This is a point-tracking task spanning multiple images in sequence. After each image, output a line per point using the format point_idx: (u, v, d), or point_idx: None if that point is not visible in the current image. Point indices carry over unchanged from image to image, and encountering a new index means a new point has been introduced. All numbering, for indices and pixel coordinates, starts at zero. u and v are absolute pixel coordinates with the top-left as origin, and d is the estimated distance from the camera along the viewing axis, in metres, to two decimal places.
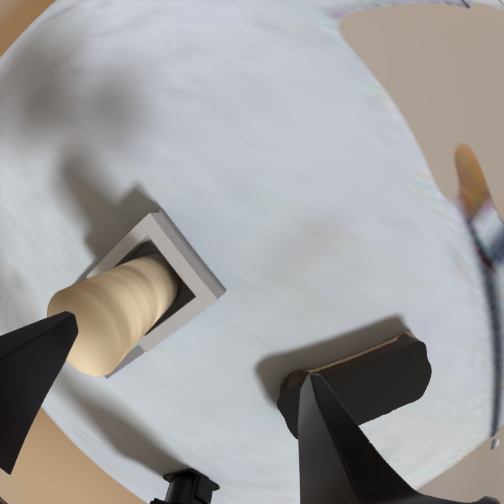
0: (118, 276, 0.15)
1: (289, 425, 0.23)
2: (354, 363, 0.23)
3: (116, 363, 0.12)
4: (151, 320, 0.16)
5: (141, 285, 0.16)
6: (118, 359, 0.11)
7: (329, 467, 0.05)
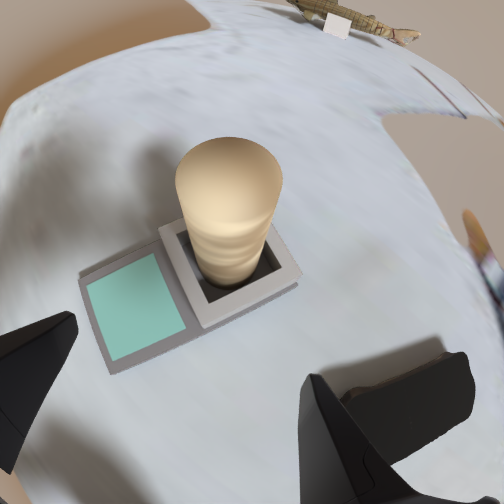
0: None
1: None
2: (412, 373, 0.20)
3: (268, 206, 0.12)
4: (264, 239, 0.16)
5: None
6: (273, 201, 0.12)
7: (329, 467, 0.05)
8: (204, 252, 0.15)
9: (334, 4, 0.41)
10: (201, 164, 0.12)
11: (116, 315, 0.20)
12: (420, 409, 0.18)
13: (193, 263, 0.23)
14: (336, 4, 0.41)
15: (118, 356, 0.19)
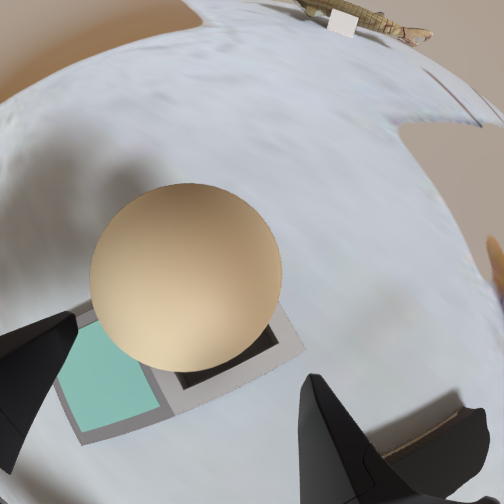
0: None
1: None
2: (425, 441, 0.14)
3: (253, 338, 0.06)
4: None
5: None
6: (263, 328, 0.06)
7: (329, 467, 0.05)
8: None
9: None
10: (132, 245, 0.07)
11: (80, 383, 0.15)
12: (430, 477, 0.12)
13: None
14: None
15: (87, 428, 0.13)
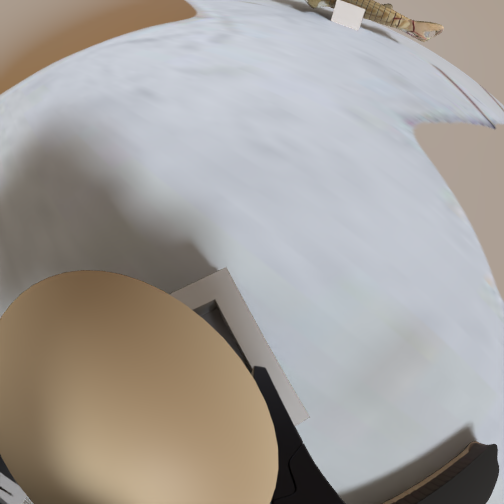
0: None
1: None
2: (433, 485, 0.10)
3: None
4: None
5: None
6: None
7: None
8: None
9: None
10: (21, 385, 0.02)
11: None
12: None
13: None
14: None
15: None
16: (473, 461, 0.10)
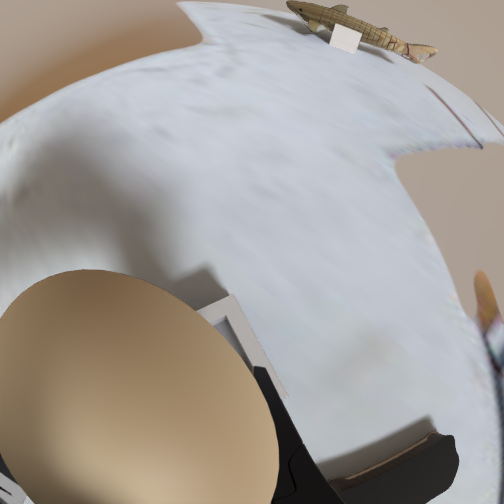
0: None
1: None
2: (393, 464, 0.16)
3: None
4: None
5: None
6: None
7: None
8: None
9: (342, 14, 0.37)
10: (21, 385, 0.02)
11: None
12: (397, 494, 0.14)
13: None
14: (345, 14, 0.37)
15: None
16: (429, 447, 0.16)
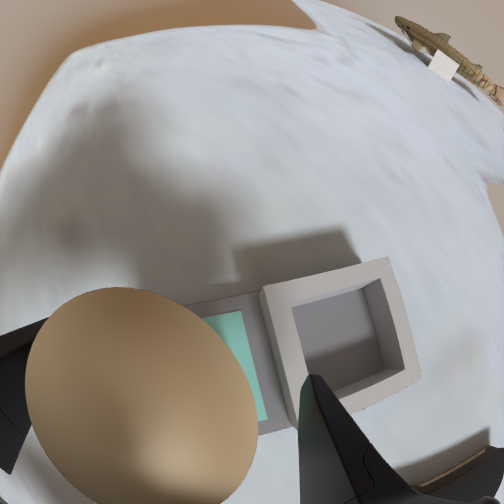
0: None
1: None
2: (461, 471, 0.11)
3: (219, 500, 0.03)
4: None
5: None
6: (232, 491, 0.03)
7: (329, 467, 0.05)
8: None
9: (445, 42, 0.33)
10: (62, 375, 0.04)
11: None
12: None
13: None
14: (446, 43, 0.32)
15: None
16: (490, 457, 0.11)
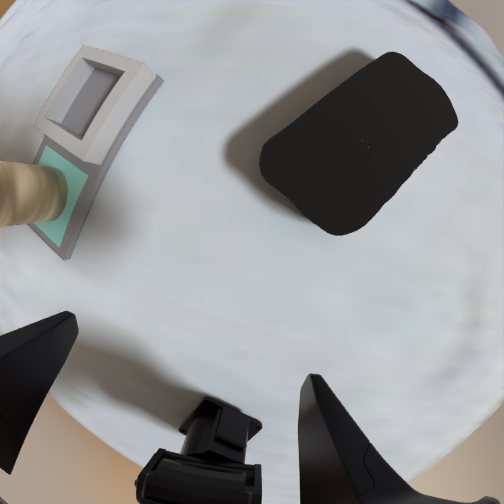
0: None
1: (302, 208, 0.16)
2: None
3: None
4: (6, 178, 0.12)
5: None
6: None
7: (329, 467, 0.05)
8: None
9: None
10: None
11: None
12: (371, 127, 0.16)
13: (73, 125, 0.18)
14: None
15: (60, 240, 0.20)
16: (369, 64, 0.15)
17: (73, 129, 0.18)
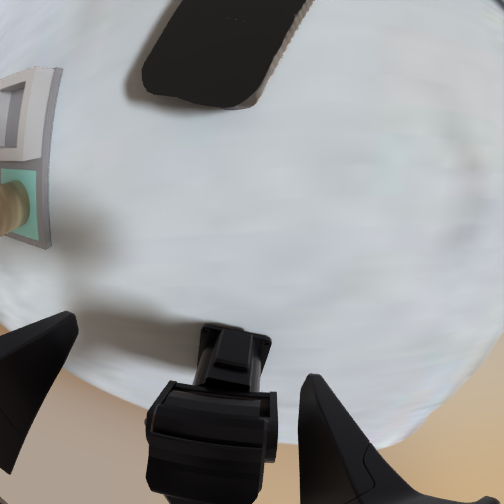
0: None
1: (192, 98, 0.14)
2: None
3: None
4: None
5: None
6: None
7: (329, 467, 0.05)
8: None
9: None
10: None
11: None
12: (233, 2, 0.11)
13: (13, 141, 0.17)
14: None
15: (36, 234, 0.21)
16: None
17: (14, 144, 0.17)
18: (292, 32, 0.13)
